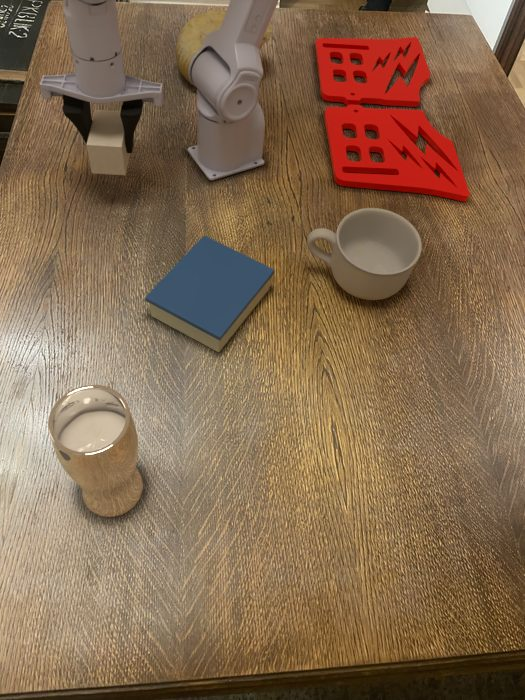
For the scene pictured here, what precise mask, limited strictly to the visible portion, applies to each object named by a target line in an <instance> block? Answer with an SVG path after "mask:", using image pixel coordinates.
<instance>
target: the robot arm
mask: <svg viewBox="0 0 525 700" xmlns="http://www.w3.org/2000/svg"><path fill="white" fill-rule="evenodd" d="M279 1H280V0H230V1H229V3H228V7H227V9H226V10H225V11H226V14H225V17H224V20H223V22H222V25H221V28H220V29H218V30H215V31H213V32H210V33H208V34H207V35H206V37H205V40H204V42H203V44H202V46H201V48H200V49H199V50H198V51H197V52H196V54H195V55H194V56H193V58H192V59H191V61H190V64H189V68H188V75H189V79H190V81H191V83H192V84H193V85H192V84H191V83H190V84H191V85H192V86H194V87H195V88H196V97H197V100H196V113H197V114H196V123H197V124H196V127H197V129H196V130H197V144H196V145H192V146H189V147H187V153H188V154H189V155H190V157H191V158H192V159H193V161H194V162H195V164H196V165H197V166H198V168H199V169H200V170H201V171H202V173H203V174H204V176H205V177H206V178H207V179H208V181H215V180H218V179H222V178H225V177H228V176H231V175H235V174H238V173H242V172H245V171H248V170H251V169H255V168H257V167H261V166H264V165H265V160H264V159H263V155H264V153H263V152H264V141H265V140H264V139H265V130H266V122H265V115H264V112H263V111H264V110H263V109H262V107H261V105H260V103H259V98H260V97H259V96H260V84H261V82H262V79H263V77H264V68H263V62H262V59H261V54H260V50H259V46H260V44H261V42H262V39H263V37H264V34H265V32H266V30H267V27H268V25H270V22H271V20H272V18H273V16H274V13H275V10H276V7H277V6H278V3H279ZM116 3H117V2H116V0H62V4H63V5H62V7H63V9H62V10H63V14H64V20H65V26H66V31H67V36H68V41H69V47H70V53H71V57H72V63H73V68H74V72H72V73H71V72H70V73H64V74H55V75H51V74H50V75H49V74H48V75H44V74H43V75H42V76H41V79H40V82H39V88H40V92H41V96H42V99H43V100H51V99H53V98H54V97H61V98H62V103H63V104H62V107H61V109H62V113H63V115H64V116H65V117H66V118H67V119H68V120H69V121H70V122H71V123H72V124H73V126H74V127H75V128H76V130H77V131H78V133H79V134H80V136H81V137H82V139H83V141H84V143H85V145H86V144H87V141H88V137H89V133H90V129H91V125H92V121H93V117H92V109H91V104H96V105H108V104H115V103H122V104H121V108H120V111H121V112H120V117H121V120H122V124H123V128H124V133H125V146H126V151H127V153H130V154H133V150H134V141H135V140H134V139H135V132H136V129H137V126H138V124H139V122H140V120H141V116H142V113H143V108H144V103H152V104H153V106H154V107H163V103H164V97H165V96H164V84H163V83H162V82H155V81H154V82H153V81H149V80H145V79H142V78H139V77H135V76H131V75H128V74H125V73H126V72H125V66H124V65H125V64H124V57H123V48H122V41H121V33H120V31H121V30H120V23H119V16H118V8H117V4H116Z"/></svg>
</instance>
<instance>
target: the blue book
mask: <svg viewBox="0 0 525 700" xmlns="http://www.w3.org/2000/svg"><path fill="white" fill-rule="evenodd" d="M275 271H276V270H275V268H272V267H271V266H268V265H266V264H263V263H262V262H259V261H258V260H255V259H253V258H252V257H249V256H248V255H246V254H243V253H241V252H240V251H238V250H236V249H233V248H231V247H229V246H227V245H225V244H223V243H221V242H219V241H217V240H215V239H213V238H211V237H208V236H207V235H203V236H202V237H201V238H200V239H199V240H198V241H197V242H196V243H195V244H194V245H193V246H192V247H191V249H189V251H187V252H186V253H185V255H184V256H183V257H181V259H180V260H179V261H178V262H177V263H176V264H175V265H174V266H173V268H171V269H170V270H169V272H167V274H166V275H165V276H163V278H161V280H160V281H159V282H158V283H157V284H156V285H155V286H154V287H153V288H152V289H151V290H150V291H149V292H148V293H147V294H146V296H145V297H144V298H145V299H144V301H145V302H147V303H148V305H149V311H150V317H152V318H153V319H156V320H158V321H160V322H161V323H162V324H164V325H166V326H169V327H171V328H173V329H174V330H176V331H178V332H180V333H182V334H184V336H185V335H186V336H187V337H189V338H190V339H193V340H195V341H196V342H198V343H200V344H203V345H204V346H206V347H207V348H210V349H211V350H213V351H215V352H217V353H220V352H221V351H222V349H223V348H224V347H225V345H226V344H227V343H228V342H229V341H230V339H231V338H232V337H233V335H234V334H235V333H236V331H237V330H239V328H240V327H241V325H243V323H244V322H245V320H246V319H247V318H248V317H249V315H250V314H252V312H253V310H254V309H255V307H257V305H259V303H260V301H261V300H262V299H263V298H264V296H265V295H266V294H267V293H268V291H269V290H270V285H271V284H270V283H271V278H272V277H273V275H275Z"/></svg>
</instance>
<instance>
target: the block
mask: <svg viewBox="0 0 525 700" xmlns="http://www.w3.org/2000/svg"><path fill="white" fill-rule="evenodd" d="M120 112H121V110H110V109H109V110H108V109H95V110H94V113H93V114H94V115H93V117H92V125H91V129H90V133H89V137H88V141H87V144H86V143H85V145H86V150H87V155H88V161H89V165H90V171H91V174H94V175H95V174H98V175H111V176H126V175H127V169H128V164H129V160H130V154H131V153H127V151H126V146H125V133H124V128H123V124H122V120H121V117H120Z"/></svg>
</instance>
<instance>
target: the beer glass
mask: <svg viewBox="0 0 525 700" xmlns="http://www.w3.org/2000/svg"><path fill="white" fill-rule="evenodd" d="M47 430H48V435H49V436H50V438H51V439H50V440H51V443H52V446H53V449H54V452H55V455H56V457H57V460H58V462H59V463H60V465H61V467H62V469H63V470H64V471H65V473H66V474H67V475H68V476H69V478H71V479H72V480H73V481H74V482H75V483H76V484H77V485H78V486H79V487H81V496H82V500H83V503H84V505H85V506H86V508H87V509H88V510H89V511H90V512H92V513H94V514H95V515H97V516H99V517H102V518H103V517H104V518H114V517H119V516H122V515H124V514H127V513H129V512H130V511H131V510H132V509H133V508H134V507H135V506H136V505H137V504H138V502H139V501H140V499H141V497H142V494H143V489H144V481H143V477H142V474H141V472H140V470H139V469H138V468H137V461H138V457H139V456H138V455H139V439H138V438H139V437H138V431H137V428H136V424H135V421H134V418H133V416H132V413H131V410H130V408H129V404H128V402H127V400H126V398H124V397H123V395H122V394H120V392H118V391H117V390H115V389H113V388H112V387H108V386H107V385H106V386H105V385H101V384H87V385H83V386H78V387H76V388H73V389H71V390H70V391H68V392H66V393H65V394H63V395H62V396H61V397H60V398H59V399H58V400H57V401H56V402H55V404H53V407H52V409H51V410H50V413H49V416H48V421H47Z"/></svg>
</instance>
